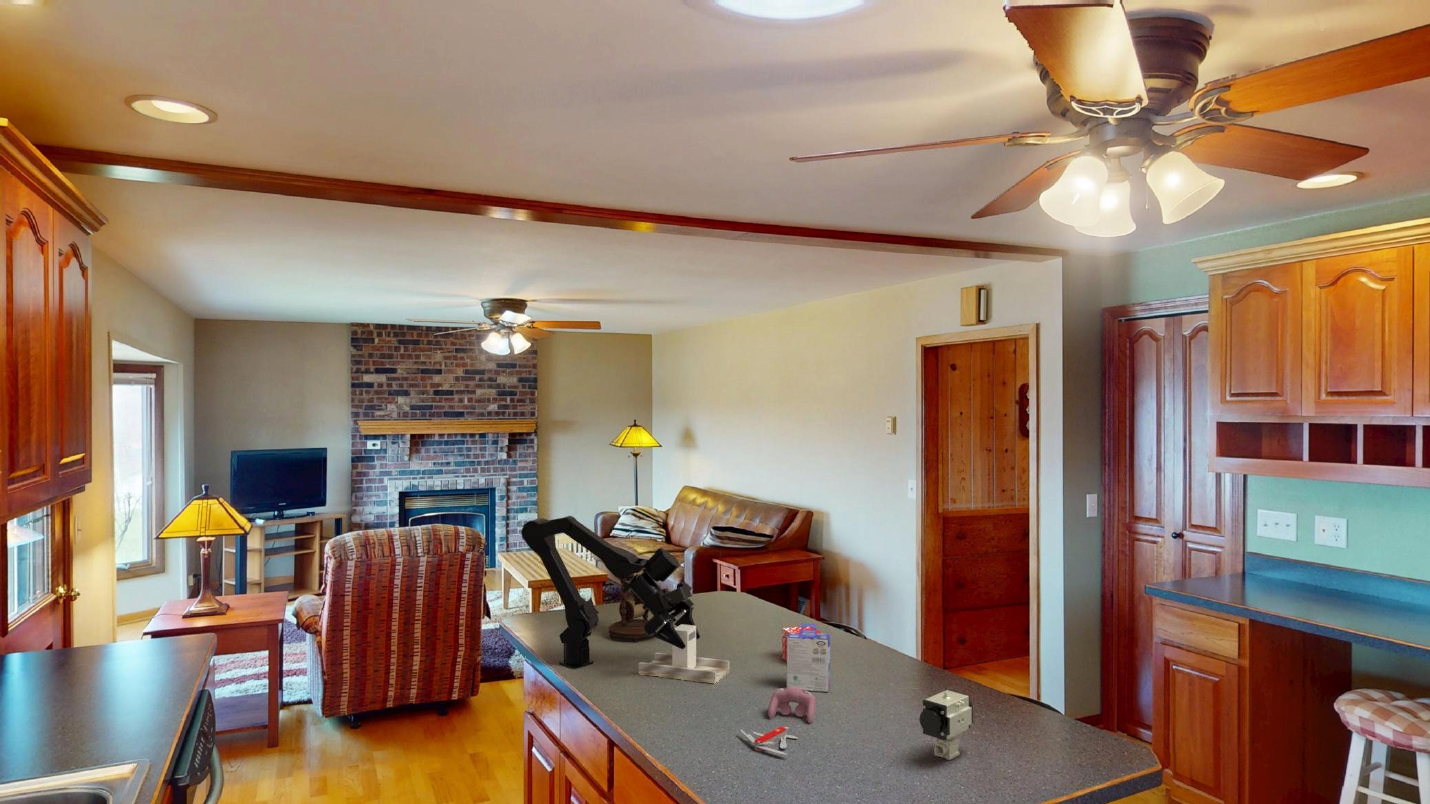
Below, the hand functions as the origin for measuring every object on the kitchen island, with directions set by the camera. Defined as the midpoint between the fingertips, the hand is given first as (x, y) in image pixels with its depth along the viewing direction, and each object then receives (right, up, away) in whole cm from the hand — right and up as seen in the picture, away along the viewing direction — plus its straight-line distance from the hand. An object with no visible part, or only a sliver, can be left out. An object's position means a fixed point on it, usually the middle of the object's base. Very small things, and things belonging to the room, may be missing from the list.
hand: (691, 643), depth 205 cm
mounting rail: (-2, -8, +1) cm, 8 cm away
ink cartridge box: (+28, -8, -10) cm, 30 cm away
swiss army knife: (+17, -8, -42) cm, 46 cm away
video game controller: (+22, -8, -28) cm, 37 cm away
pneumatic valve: (+49, -7, -49) cm, 70 cm away
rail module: (-2, -6, +1) cm, 7 cm away
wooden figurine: (-17, -8, +35) cm, 40 cm away
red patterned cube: (+28, -8, +11) cm, 31 cm away
